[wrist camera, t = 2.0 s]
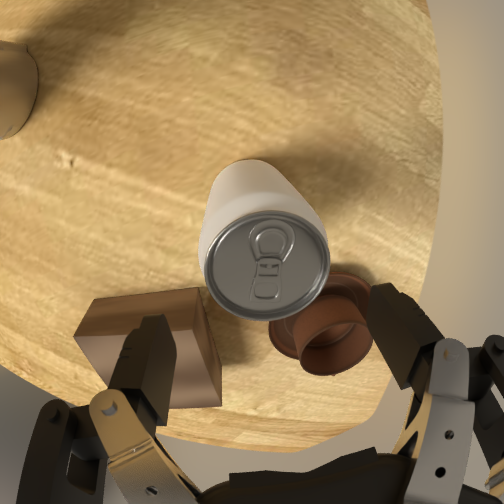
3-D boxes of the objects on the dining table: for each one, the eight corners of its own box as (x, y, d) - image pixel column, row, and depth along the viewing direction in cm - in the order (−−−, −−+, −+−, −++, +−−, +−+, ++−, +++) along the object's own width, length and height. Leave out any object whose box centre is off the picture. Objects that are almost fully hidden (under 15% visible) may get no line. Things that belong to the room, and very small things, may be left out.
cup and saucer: (380, 317, 31) (401, 352, 25) (295, 362, 33) (305, 401, 27) (350, 242, 26) (379, 276, 20) (244, 301, 28) (248, 345, 22)
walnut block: (94, 299, 26) (73, 336, 21) (197, 287, 26) (192, 329, 21) (133, 371, 32) (124, 407, 26) (221, 366, 32) (222, 406, 26)
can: (291, 161, 22) (352, 206, 11) (283, 234, 24) (323, 326, 14) (211, 156, 21) (192, 197, 10) (209, 231, 24) (196, 327, 13)
